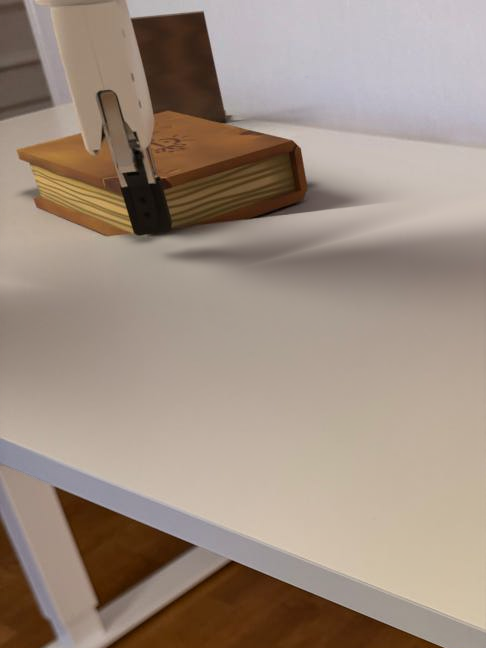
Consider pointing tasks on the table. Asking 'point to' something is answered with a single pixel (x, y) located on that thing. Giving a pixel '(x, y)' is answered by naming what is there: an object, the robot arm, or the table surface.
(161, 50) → the bookend
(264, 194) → the diary
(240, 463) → the table surface
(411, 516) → the table surface
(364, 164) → the table surface
